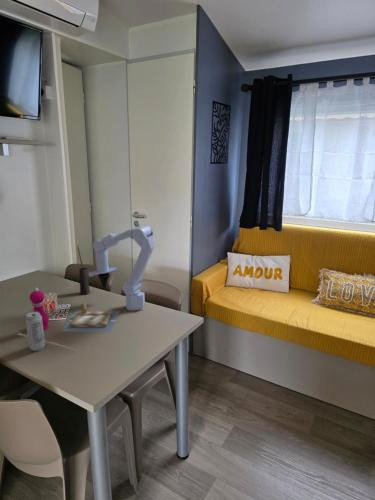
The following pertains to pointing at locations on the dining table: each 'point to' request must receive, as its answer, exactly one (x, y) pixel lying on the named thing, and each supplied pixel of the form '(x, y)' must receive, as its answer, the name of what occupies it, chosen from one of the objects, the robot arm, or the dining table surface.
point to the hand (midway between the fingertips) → (104, 286)
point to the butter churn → (83, 279)
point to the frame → (90, 318)
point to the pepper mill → (39, 306)
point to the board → (92, 329)
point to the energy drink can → (35, 331)
